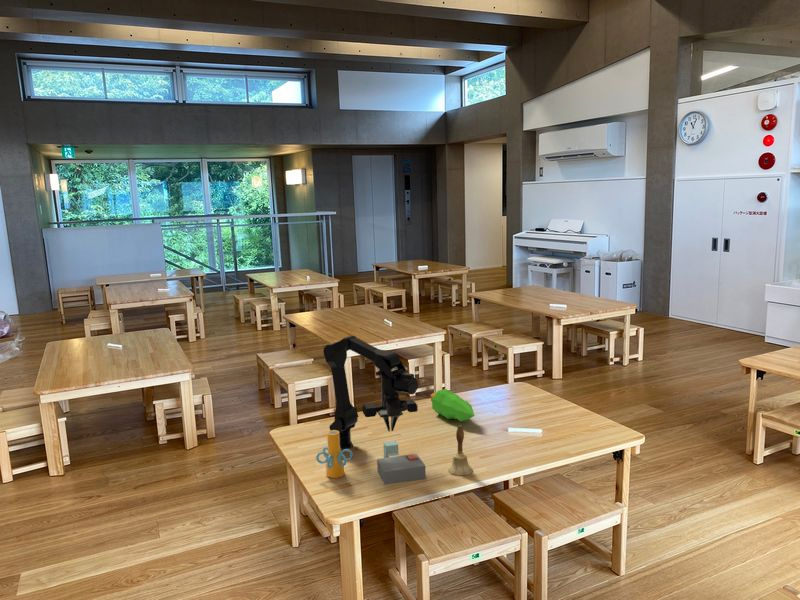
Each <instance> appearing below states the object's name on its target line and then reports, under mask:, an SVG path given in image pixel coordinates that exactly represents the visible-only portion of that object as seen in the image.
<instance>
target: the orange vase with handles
mask: <svg viewBox="0 0 800 600" xmlns="http://www.w3.org/2000/svg"><path fill="white" fill-rule="evenodd" d="M326 433H327V434H326V436H327V437H326V438H327V446H324V447H323V449H322V451H320V452H318V453H317V454H316V457H315V459H316V461H317V463H318V464H321V465H323V464H325V472H326V473H325V474H326V476H327V477H328V478H331V479H337V478H341V477H343V476H344V474H345V466H346V465H347V462H349V461H350V460H351V459H352V458H353V451H352V450H351V449H349V448H343V449H342V448H341V447H340V437H339V431H337V430H331V431H330V430H328V431H327V432H326ZM326 451H327V452H326ZM345 452H348V453H349V457H347V458H346V456H345V455H344V453H345ZM320 455H323V456H324V458H325V460H320V459H319V457H320Z"/></svg>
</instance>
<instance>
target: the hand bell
mask: <svg viewBox="0 0 800 600" xmlns="http://www.w3.org/2000/svg"><path fill="white" fill-rule="evenodd" d="M455 436H456V442H457V453H454V455H453V458H452V463H451V465H450V466H449V467H448V469H447V470H448V473H449V474H451V475H453V476H457V475H458V476H459V477H461V475H462V476H463V475H464V476H467V475H471V472H472V473H473V471H474V470H473V468H472V466H471V465H470V464H469V461H468V457H467V454H465V453H464V452H463V450H464V449H463V442H464V439H465V431H464V429H463V425H462V424H459V425H457V429H456V434H455Z"/></svg>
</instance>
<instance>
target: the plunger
mask: <svg viewBox="0 0 800 600" xmlns="http://www.w3.org/2000/svg"><path fill="white" fill-rule="evenodd" d="M415 454H416V453H411V455H409V454H406V455H407V459H408V460H409V461H411V460H417V456H416V455H415Z"/></svg>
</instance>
